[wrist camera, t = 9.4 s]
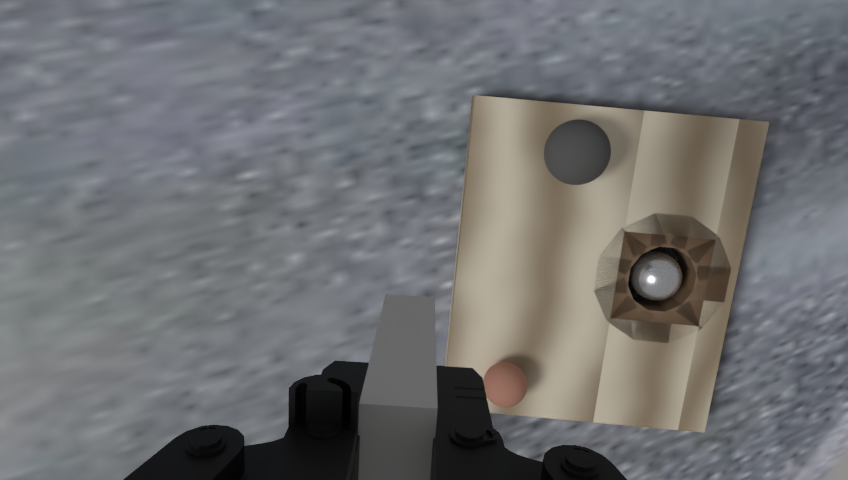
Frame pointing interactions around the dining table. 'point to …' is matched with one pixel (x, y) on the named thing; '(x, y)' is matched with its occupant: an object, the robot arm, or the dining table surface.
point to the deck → (601, 260)
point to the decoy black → (577, 152)
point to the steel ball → (655, 276)
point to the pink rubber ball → (505, 384)
